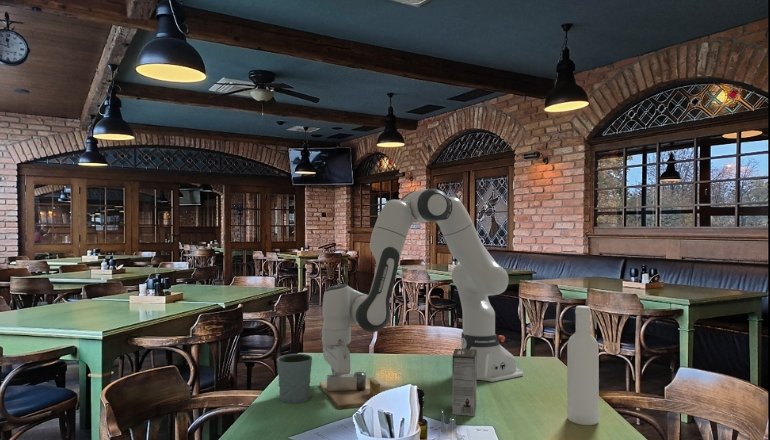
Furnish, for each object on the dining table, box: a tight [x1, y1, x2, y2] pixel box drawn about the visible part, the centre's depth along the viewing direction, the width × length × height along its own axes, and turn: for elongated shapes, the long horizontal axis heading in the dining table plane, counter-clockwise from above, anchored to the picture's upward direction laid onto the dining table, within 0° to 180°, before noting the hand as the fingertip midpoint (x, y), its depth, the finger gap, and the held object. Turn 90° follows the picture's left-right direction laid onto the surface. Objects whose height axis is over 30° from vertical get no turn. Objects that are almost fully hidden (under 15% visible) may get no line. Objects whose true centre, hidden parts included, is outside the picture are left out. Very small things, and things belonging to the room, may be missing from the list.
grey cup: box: [276, 353, 313, 404], centre depth 154 cm, size 10×10×12 cm
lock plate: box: [319, 376, 393, 410], centre depth 159 cm, size 20×23×5 cm
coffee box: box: [451, 348, 477, 417], centre depth 145 cm, size 9×6×16 cm
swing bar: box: [326, 371, 367, 391], centre depth 159 cm, size 12×4×5 cm, turn 98°
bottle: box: [566, 305, 600, 426], centre depth 138 cm, size 8×8×30 cm
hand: (336, 381), depth 162 cm, fingers closed
